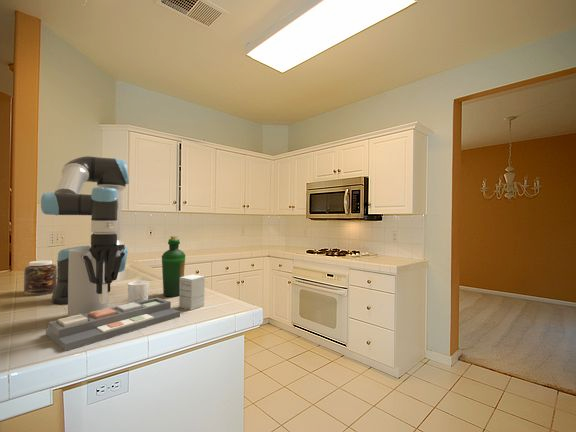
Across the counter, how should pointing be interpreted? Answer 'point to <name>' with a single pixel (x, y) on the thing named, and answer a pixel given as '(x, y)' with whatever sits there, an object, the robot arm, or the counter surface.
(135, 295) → the white cup
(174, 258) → the bottle
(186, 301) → the supplement box
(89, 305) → the cylinder vase
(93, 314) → the key terracotta
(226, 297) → the counter surface
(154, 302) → the key sage
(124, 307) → the key grey
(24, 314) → the counter surface
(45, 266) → the jar
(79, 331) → the key pad
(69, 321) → the key white
